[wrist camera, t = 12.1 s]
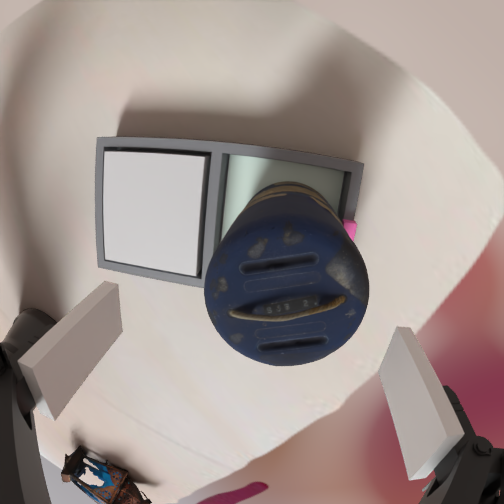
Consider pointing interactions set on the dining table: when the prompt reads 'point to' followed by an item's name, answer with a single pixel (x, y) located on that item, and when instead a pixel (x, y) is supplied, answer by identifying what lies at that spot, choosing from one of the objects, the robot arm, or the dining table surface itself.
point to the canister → (286, 279)
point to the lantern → (115, 482)
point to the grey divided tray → (195, 198)
